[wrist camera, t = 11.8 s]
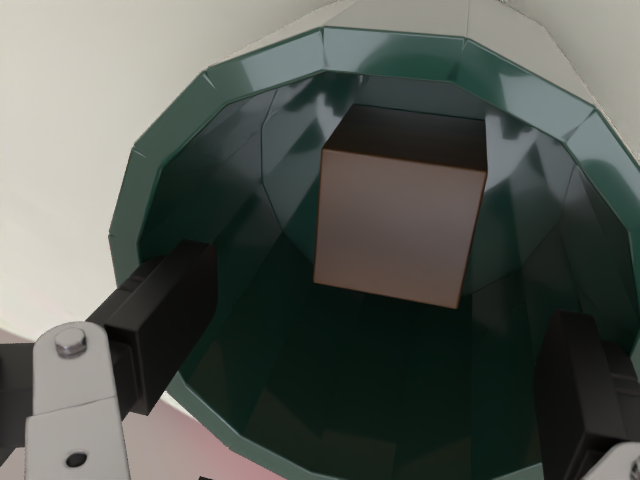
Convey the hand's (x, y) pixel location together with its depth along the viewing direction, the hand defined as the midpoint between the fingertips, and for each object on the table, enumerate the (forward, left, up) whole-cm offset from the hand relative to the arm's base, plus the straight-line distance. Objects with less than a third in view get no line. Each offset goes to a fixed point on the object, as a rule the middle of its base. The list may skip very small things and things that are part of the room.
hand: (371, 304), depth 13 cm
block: (0, 0, -8) cm, 8 cm away
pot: (0, 0, -9) cm, 9 cm away
